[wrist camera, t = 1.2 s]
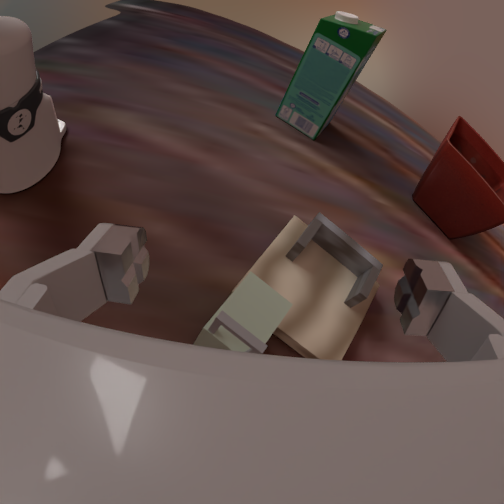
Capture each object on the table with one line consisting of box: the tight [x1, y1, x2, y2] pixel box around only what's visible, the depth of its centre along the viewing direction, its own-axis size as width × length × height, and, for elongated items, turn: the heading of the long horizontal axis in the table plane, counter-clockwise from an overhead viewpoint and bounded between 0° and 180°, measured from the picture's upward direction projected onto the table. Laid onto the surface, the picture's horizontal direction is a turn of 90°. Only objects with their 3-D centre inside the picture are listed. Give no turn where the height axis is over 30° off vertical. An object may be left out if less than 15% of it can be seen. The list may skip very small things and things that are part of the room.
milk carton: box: [276, 11, 386, 140], centre depth 50 cm, size 9×9×25 cm
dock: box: [228, 212, 383, 360], centre depth 41 cm, size 16×15×6 cm
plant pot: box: [412, 116, 504, 239], centre depth 55 cm, size 19×19×17 cm
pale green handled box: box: [193, 271, 293, 354], centre depth 31 cm, size 5×7×15 cm
